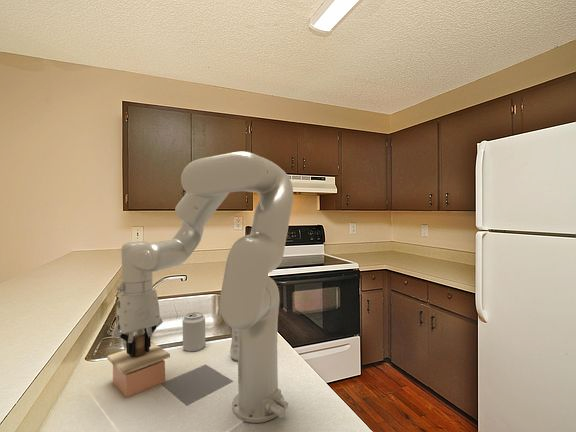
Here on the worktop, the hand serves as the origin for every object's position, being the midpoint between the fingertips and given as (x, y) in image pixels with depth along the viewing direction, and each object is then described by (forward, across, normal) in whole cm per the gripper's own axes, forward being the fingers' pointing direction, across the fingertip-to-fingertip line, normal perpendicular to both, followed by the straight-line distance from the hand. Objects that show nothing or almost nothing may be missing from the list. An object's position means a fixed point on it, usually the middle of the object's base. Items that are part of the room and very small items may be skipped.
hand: (138, 352), depth 84 cm
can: (+9, +22, +8) cm, 25 cm away
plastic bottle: (+9, +28, -10) cm, 31 cm away
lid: (+2, 0, 0) cm, 2 cm away
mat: (+9, +10, -12) cm, 18 cm away
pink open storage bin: (+9, 0, 0) cm, 9 cm away
